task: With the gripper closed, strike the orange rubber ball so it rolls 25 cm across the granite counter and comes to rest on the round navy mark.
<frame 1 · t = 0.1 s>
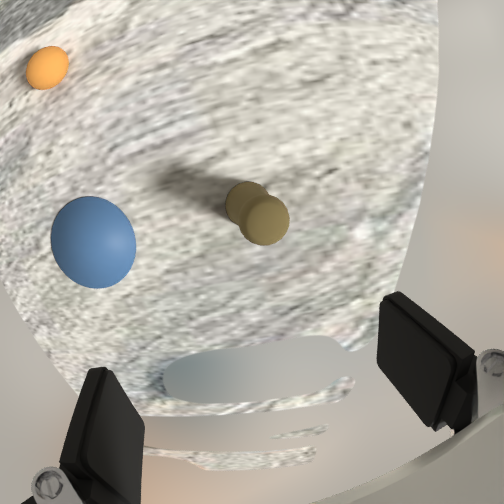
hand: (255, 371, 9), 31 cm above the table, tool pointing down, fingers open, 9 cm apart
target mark: (91, 244, 37), on the table
ball: (47, 67, 25), on the table
olive chess pawn: (248, 204, 39), on the table
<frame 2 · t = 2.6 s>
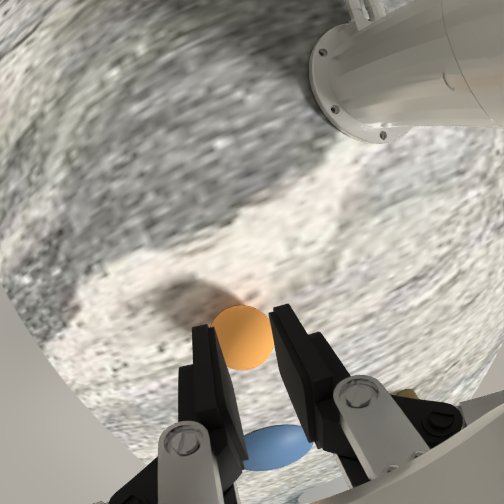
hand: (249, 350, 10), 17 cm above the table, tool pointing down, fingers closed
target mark: (272, 450, 38), on the table
ball: (241, 337, 27), on the table
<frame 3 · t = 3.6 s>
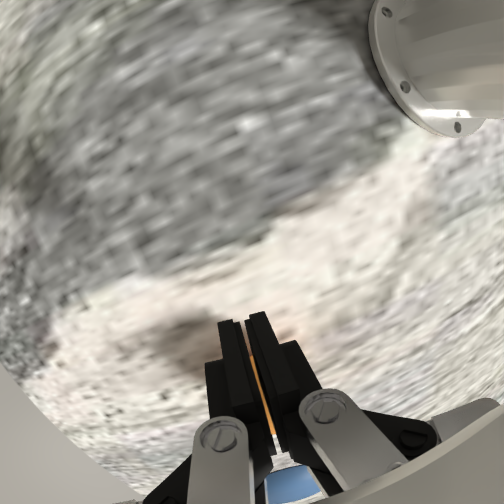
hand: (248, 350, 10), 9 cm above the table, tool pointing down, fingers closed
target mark: (291, 486, 31), on the table
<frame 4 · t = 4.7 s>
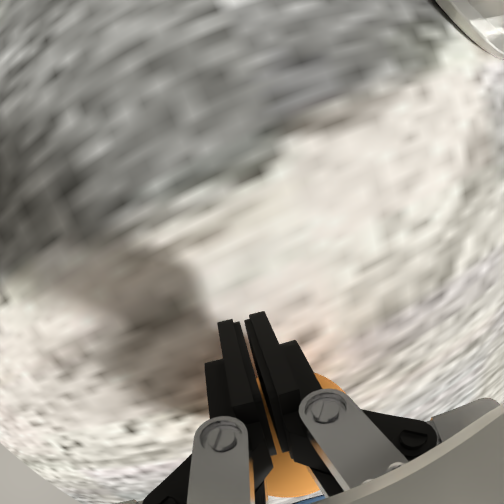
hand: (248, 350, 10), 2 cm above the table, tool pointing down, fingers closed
ball: (289, 434, 11), on the table, touching gripper
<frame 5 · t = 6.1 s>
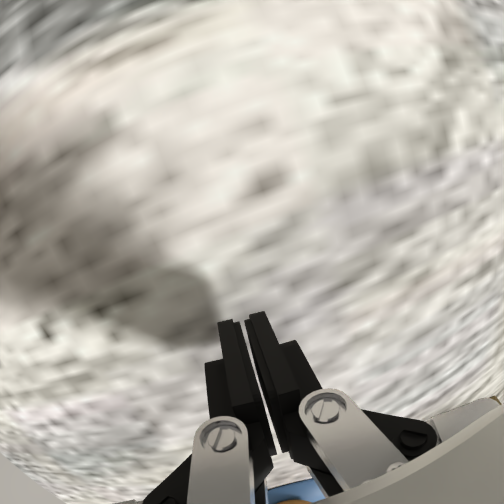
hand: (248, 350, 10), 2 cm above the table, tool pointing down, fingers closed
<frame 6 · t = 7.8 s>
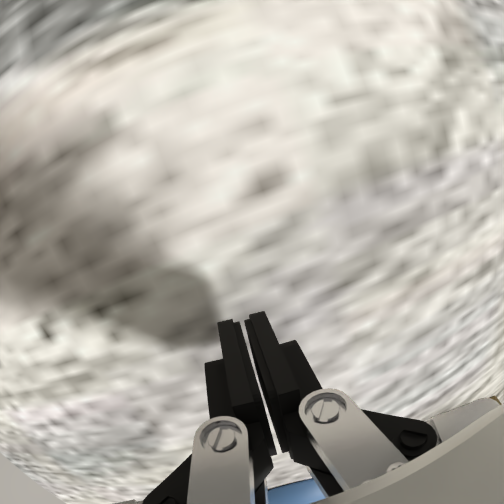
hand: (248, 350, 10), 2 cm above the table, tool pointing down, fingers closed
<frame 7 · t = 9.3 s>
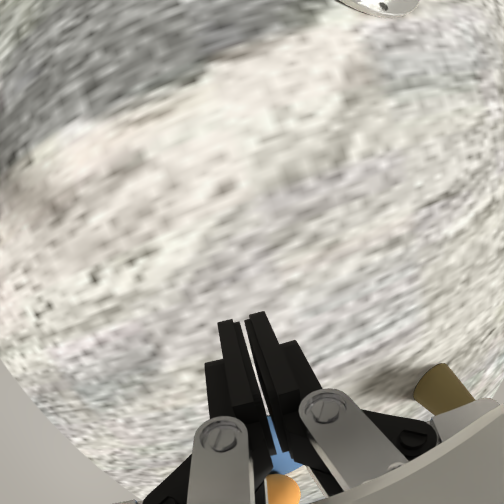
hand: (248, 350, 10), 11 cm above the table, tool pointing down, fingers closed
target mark: (266, 452, 28), on the table
ball: (275, 495, 27), on the table
olive chess pawn: (430, 381, 31), on the table
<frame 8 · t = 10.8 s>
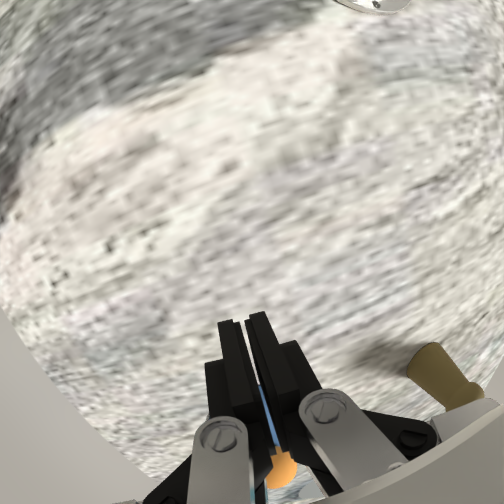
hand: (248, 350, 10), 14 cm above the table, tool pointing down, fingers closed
ball: (272, 467, 30), on the table
olive chess pawn: (423, 360, 33), on the table
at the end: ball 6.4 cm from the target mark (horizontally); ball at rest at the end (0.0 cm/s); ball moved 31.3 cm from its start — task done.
